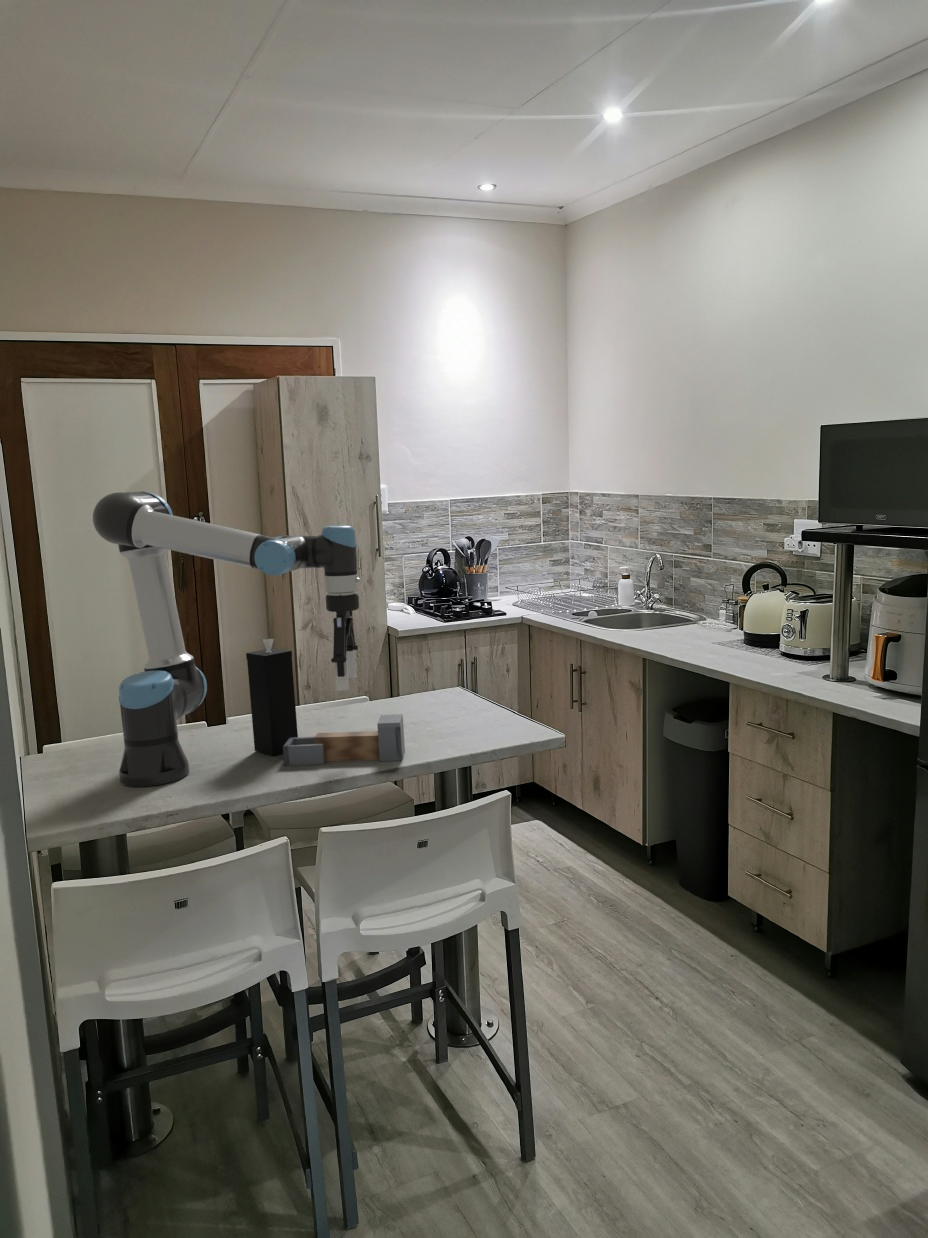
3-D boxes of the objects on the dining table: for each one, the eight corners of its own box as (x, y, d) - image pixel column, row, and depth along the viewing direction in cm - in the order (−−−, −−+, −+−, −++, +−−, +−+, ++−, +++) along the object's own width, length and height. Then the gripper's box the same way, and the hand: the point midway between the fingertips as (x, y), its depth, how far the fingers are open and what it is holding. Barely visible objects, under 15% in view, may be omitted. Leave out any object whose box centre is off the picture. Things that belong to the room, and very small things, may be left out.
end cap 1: (284, 765, 213) (282, 747, 213) (291, 755, 221) (289, 737, 221) (323, 764, 213) (322, 745, 213) (329, 754, 221) (327, 735, 220)
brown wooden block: (316, 762, 216) (314, 737, 215) (319, 757, 220) (318, 733, 219) (392, 760, 214) (390, 735, 214) (394, 755, 218) (393, 730, 217)
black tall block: (299, 749, 227) (290, 637, 223) (272, 757, 221) (263, 642, 217) (280, 744, 232) (271, 634, 228) (254, 752, 226) (244, 639, 222)
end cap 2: (379, 761, 213) (377, 723, 212) (383, 751, 221) (380, 715, 220) (402, 760, 213) (399, 722, 212) (404, 750, 221) (402, 714, 219)
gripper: (351, 599, 199) (356, 695, 202) (364, 586, 224) (368, 672, 227) (316, 600, 199) (321, 696, 202) (333, 587, 224) (338, 673, 227)
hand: (346, 683), depth 214 cm, fingers open, 13 cm apart
